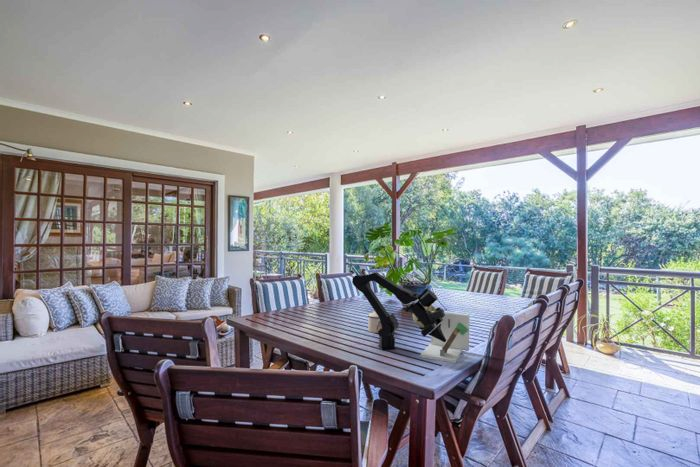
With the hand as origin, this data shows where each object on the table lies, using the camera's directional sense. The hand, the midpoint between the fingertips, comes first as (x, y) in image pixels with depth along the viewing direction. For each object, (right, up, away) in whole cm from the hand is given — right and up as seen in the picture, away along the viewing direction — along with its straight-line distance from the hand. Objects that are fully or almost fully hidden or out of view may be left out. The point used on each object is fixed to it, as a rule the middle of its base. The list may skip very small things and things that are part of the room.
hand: (445, 341), depth 153 cm
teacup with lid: (-27, -7, +43) cm, 51 cm away
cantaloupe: (+2, -8, +51) cm, 51 cm away
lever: (-1, -5, 0) cm, 5 cm away
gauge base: (+1, -7, +4) cm, 8 cm away
